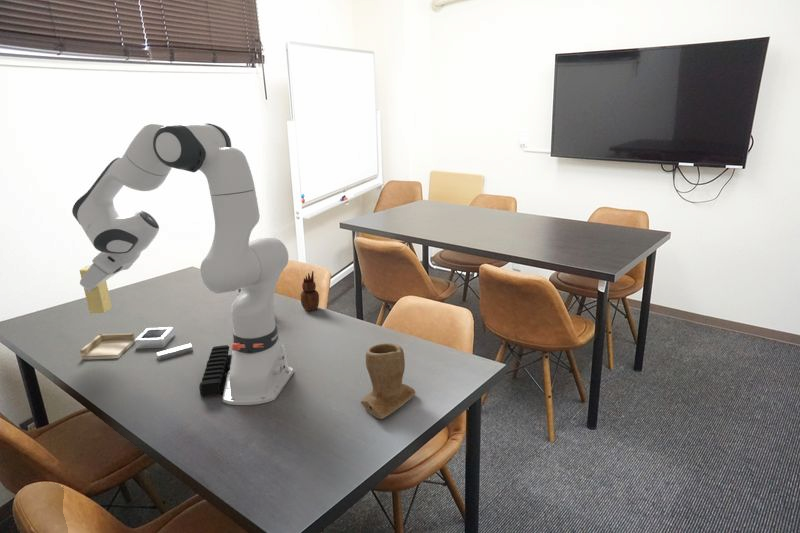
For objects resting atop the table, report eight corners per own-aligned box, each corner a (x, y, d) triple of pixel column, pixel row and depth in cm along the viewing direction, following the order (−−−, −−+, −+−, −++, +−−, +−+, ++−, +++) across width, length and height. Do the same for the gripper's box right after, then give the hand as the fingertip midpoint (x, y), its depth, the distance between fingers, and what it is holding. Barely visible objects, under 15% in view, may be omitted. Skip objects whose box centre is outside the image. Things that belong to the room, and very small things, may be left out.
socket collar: (163, 347, 157) (162, 339, 156) (136, 348, 157) (134, 340, 156) (174, 335, 165) (173, 327, 164) (148, 336, 165) (147, 328, 164)
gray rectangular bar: (191, 348, 157) (190, 343, 156) (193, 352, 155) (192, 346, 154) (157, 358, 151) (156, 352, 151) (159, 361, 149) (158, 355, 149)
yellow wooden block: (104, 312, 150) (94, 270, 145) (89, 313, 150) (79, 270, 145) (111, 307, 154) (102, 265, 149) (97, 307, 154) (87, 265, 149)
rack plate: (118, 358, 151) (116, 349, 150) (82, 359, 151) (80, 350, 150) (135, 341, 161) (133, 333, 160) (101, 342, 161) (99, 334, 160)
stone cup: (387, 381, 135) (386, 333, 130) (421, 396, 128) (421, 346, 123) (348, 407, 124) (345, 355, 119) (383, 425, 117) (381, 370, 112)
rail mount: (210, 361, 148) (208, 347, 147) (232, 359, 149) (230, 344, 148) (197, 401, 128) (194, 385, 127) (223, 398, 130) (220, 381, 128)
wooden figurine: (321, 306, 186) (318, 269, 182) (317, 312, 181) (314, 274, 176) (304, 305, 187) (301, 269, 182) (299, 312, 182) (296, 274, 177)
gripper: (127, 239, 155) (103, 268, 158) (91, 259, 136) (64, 292, 139) (144, 252, 157) (119, 281, 160) (110, 273, 138) (83, 306, 141)
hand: (93, 286), depth 149 cm, fingers closed on yellow wooden block, 4 cm apart
